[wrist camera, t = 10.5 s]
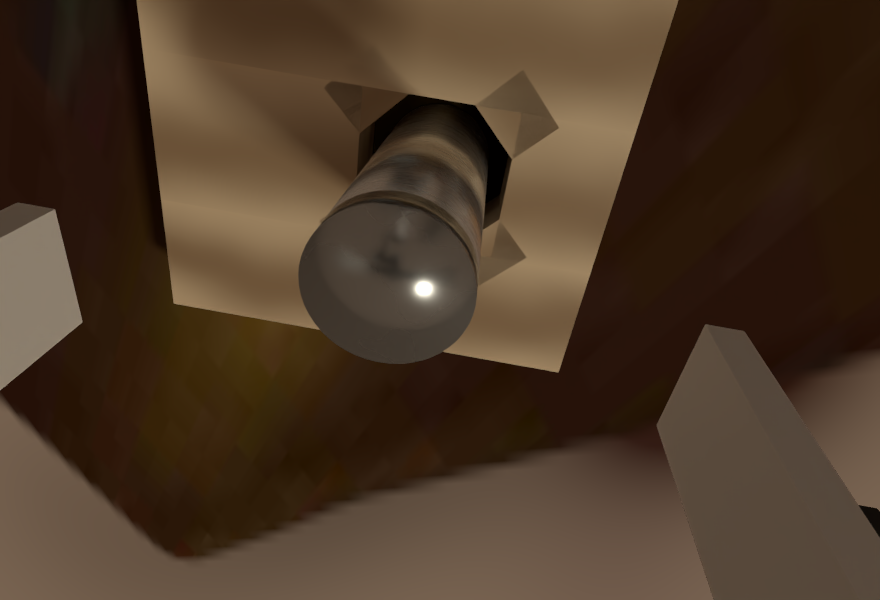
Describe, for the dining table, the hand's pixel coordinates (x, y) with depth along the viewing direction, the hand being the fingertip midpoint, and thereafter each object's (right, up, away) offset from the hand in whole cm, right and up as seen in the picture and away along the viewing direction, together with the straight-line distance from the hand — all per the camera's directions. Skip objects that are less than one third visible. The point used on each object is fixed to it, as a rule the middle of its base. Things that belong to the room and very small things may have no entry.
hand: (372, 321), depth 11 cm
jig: (-1, +7, +12) cm, 14 cm away
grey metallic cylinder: (+1, +7, +12) cm, 14 cm away
